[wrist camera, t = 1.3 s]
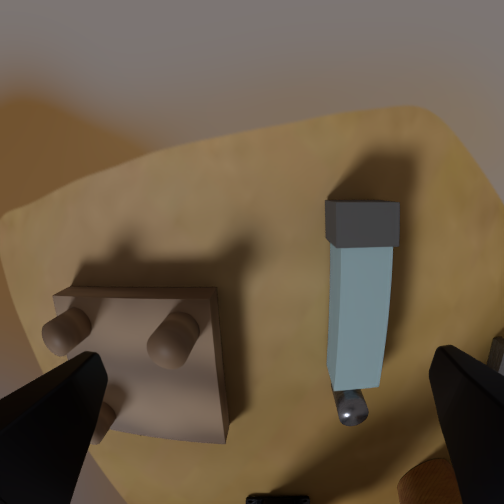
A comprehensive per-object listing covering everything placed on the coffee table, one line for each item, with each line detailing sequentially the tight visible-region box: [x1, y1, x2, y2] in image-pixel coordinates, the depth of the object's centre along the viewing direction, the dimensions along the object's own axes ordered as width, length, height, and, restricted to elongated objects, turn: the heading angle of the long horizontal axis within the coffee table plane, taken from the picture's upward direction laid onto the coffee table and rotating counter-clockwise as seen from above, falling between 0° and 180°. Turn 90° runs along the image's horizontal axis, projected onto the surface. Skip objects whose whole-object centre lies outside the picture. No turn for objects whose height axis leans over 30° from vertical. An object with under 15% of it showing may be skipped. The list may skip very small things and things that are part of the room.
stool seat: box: [42, 286, 230, 445], centre depth 20 cm, size 12×12×6 cm
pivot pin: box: [331, 383, 369, 426], centre depth 20 cm, size 2×2×4 cm
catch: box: [487, 337, 504, 376], centre depth 20 cm, size 6×4×3 cm
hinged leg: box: [325, 200, 400, 391], centre depth 19 cm, size 12×4×4 cm, turn 3°
